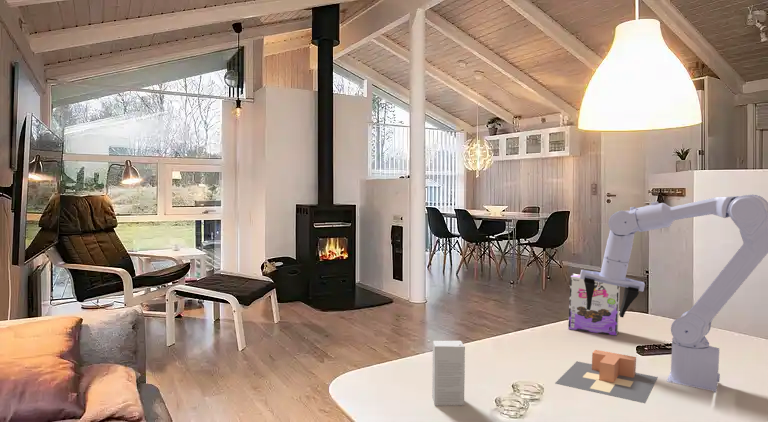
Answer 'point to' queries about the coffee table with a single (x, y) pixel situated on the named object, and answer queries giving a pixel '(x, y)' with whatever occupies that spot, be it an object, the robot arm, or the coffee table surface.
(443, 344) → the skincare box
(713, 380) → the robot arm
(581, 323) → the candy box
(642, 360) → the coffee table surface
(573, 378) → the charcoal mat
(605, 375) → the rust T block
